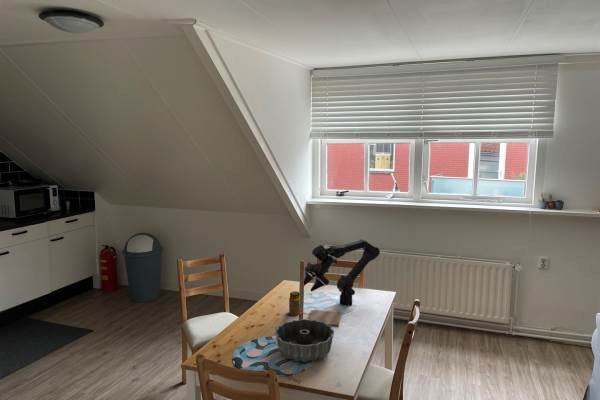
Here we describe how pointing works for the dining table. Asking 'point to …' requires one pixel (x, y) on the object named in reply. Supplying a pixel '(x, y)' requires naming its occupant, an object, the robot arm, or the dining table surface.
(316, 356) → the bundt pan
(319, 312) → the walnut board
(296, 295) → the condiment
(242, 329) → the dining table surface
